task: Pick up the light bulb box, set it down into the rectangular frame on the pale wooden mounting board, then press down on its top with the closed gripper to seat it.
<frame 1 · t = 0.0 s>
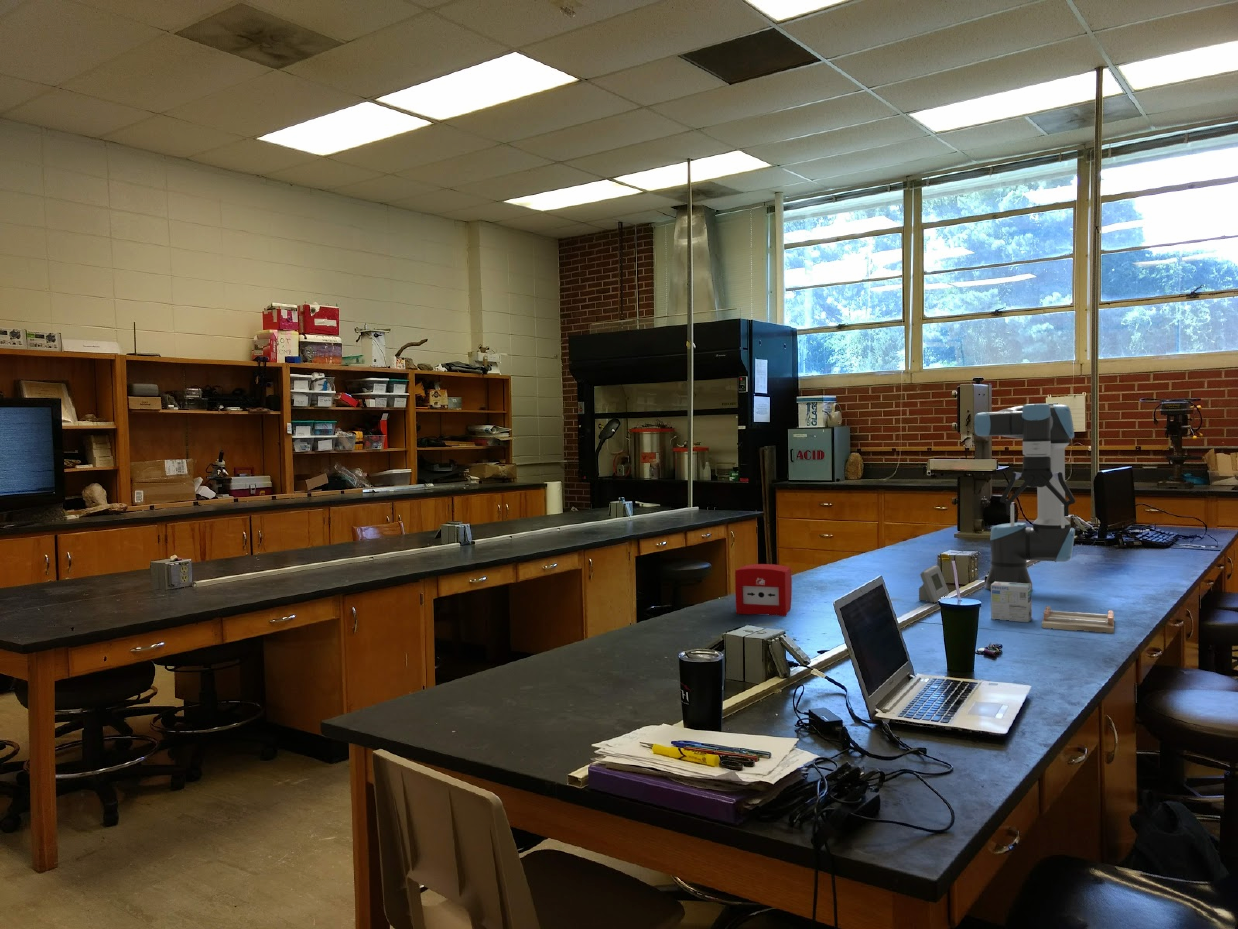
hand: (1037, 527, 262), 28 cm above the table, tool pointing down, fingers open, 13 cm apart
digital clock: (935, 600, 298), on the table
light bulb box: (1011, 619, 266), on the table
rectangular frame: (1078, 615, 257), on the mounting board, point 2 cm above the table
fire alarm: (764, 612, 286), on the table
mounting board: (1078, 624, 257), on the table
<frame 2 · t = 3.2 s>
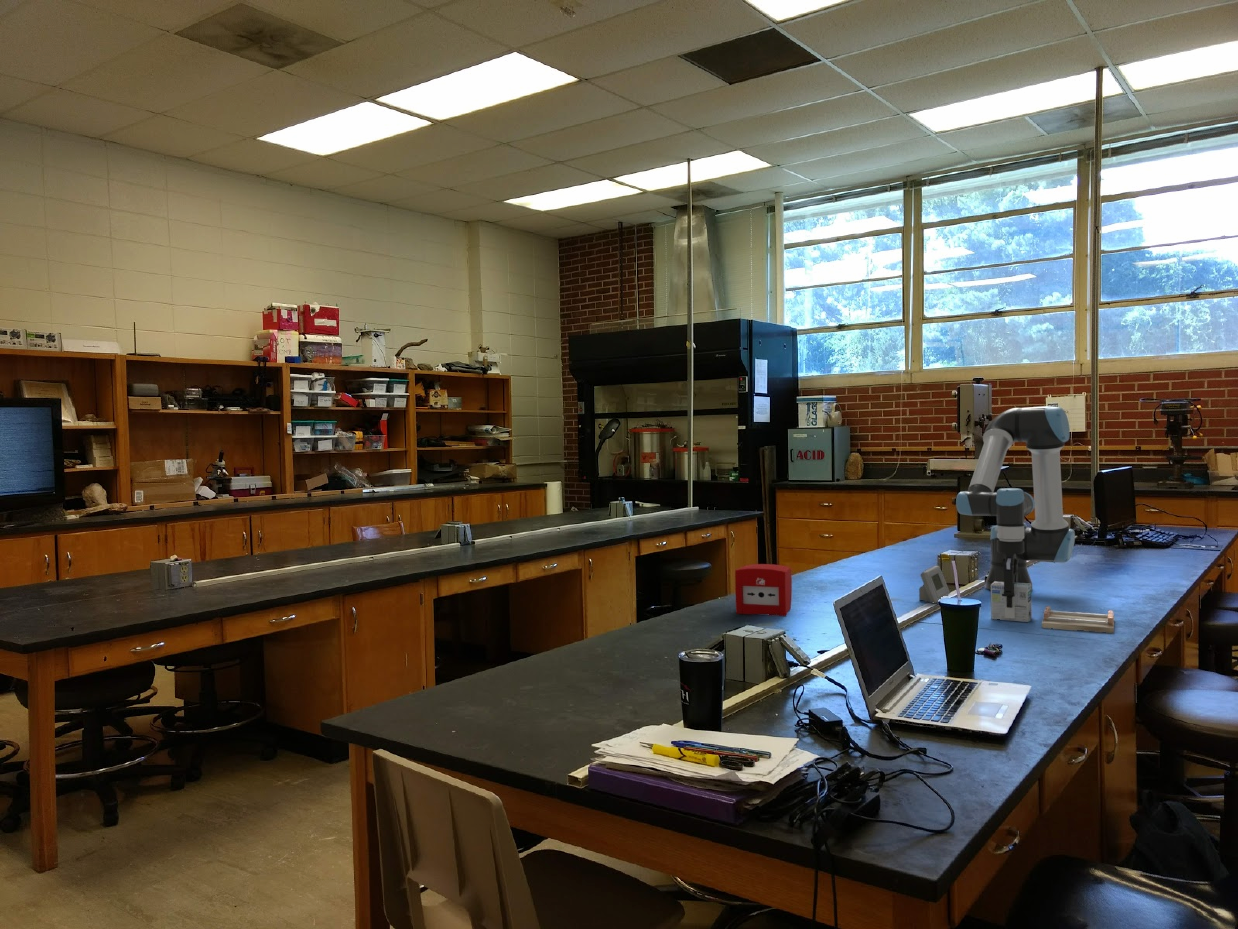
hand: (1011, 615, 266), 1 cm above the table, tool pointing down, fingers closed on light bulb box, 7 cm apart
light bulb box: (1011, 619, 266), on the table, touching gripper
everything else where it was.
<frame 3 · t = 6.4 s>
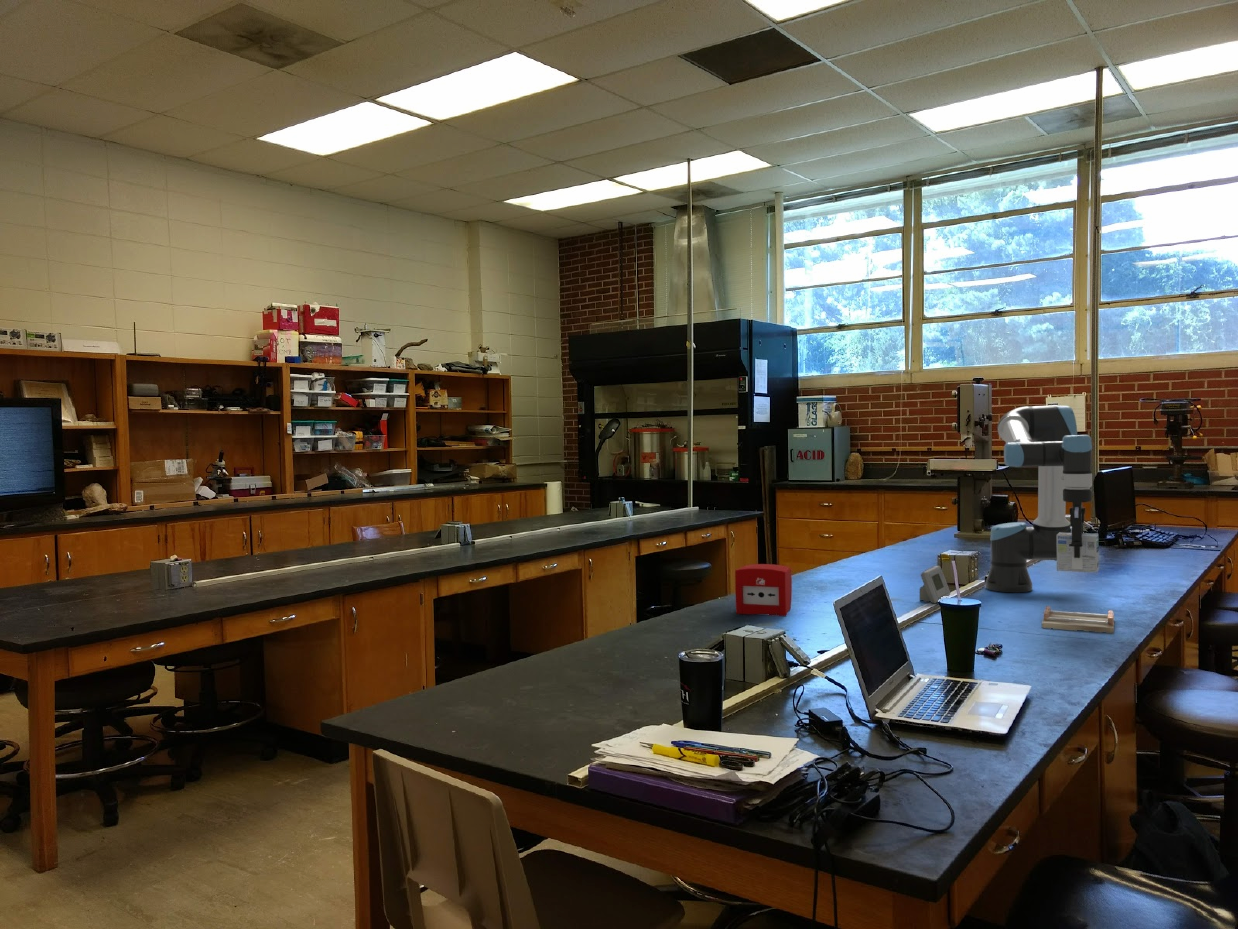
hand: (1077, 566, 256), 17 cm above the table, tool pointing down, fingers closed on light bulb box, 7 cm apart
light bulb box: (1077, 571, 256), point 16 cm above the table, touching gripper
everything else where it was.
when the fingers open (4 cm above the table, at t = 9.7 s): light bulb box drops 1 cm, resting on mounting board.
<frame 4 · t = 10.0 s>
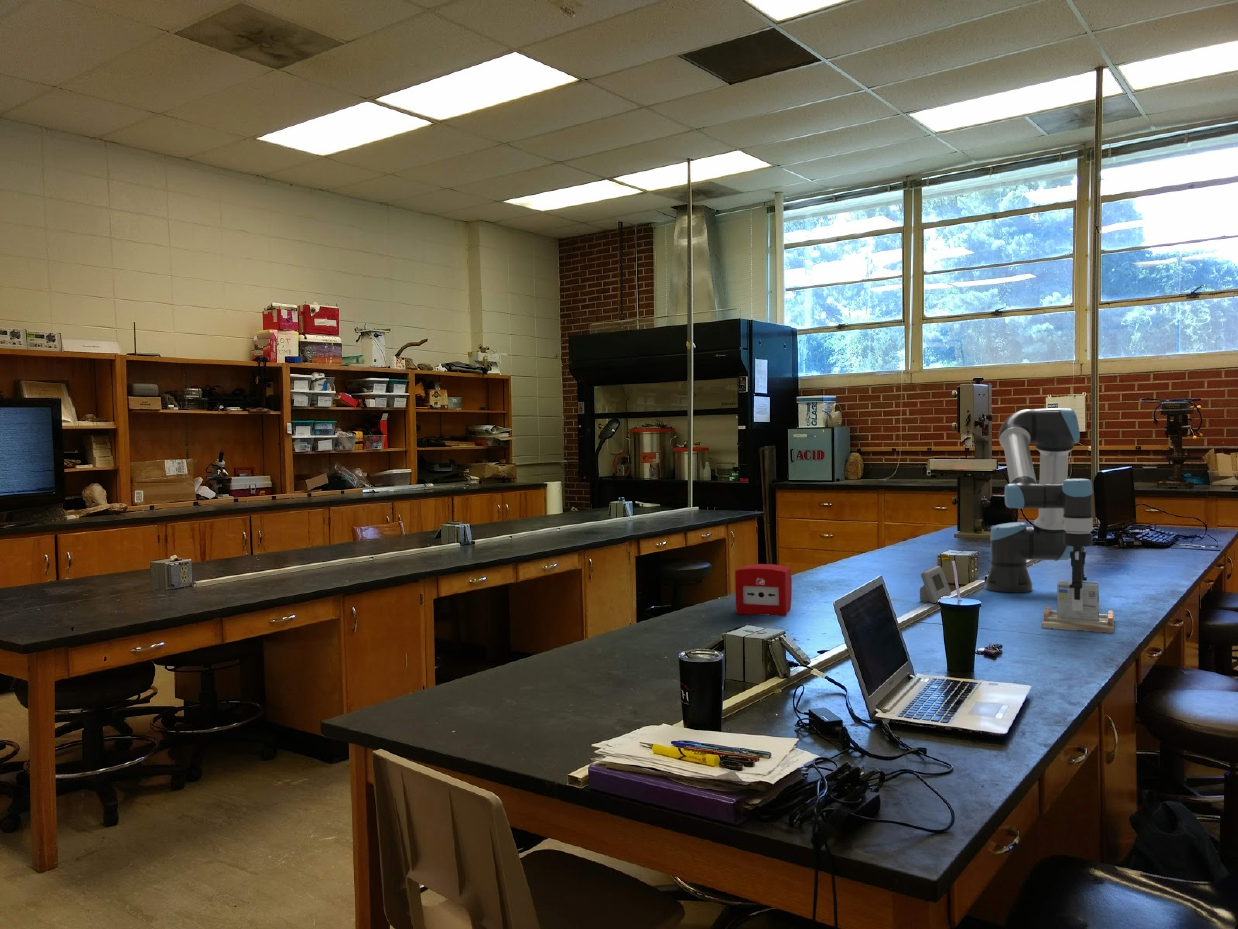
hand: (1078, 606, 256), 5 cm above the table, tool pointing down, fingers open, 11 cm apart
light bulb box: (1078, 619, 256), point 1 cm above the table, touching mounting board
everything else where it was.
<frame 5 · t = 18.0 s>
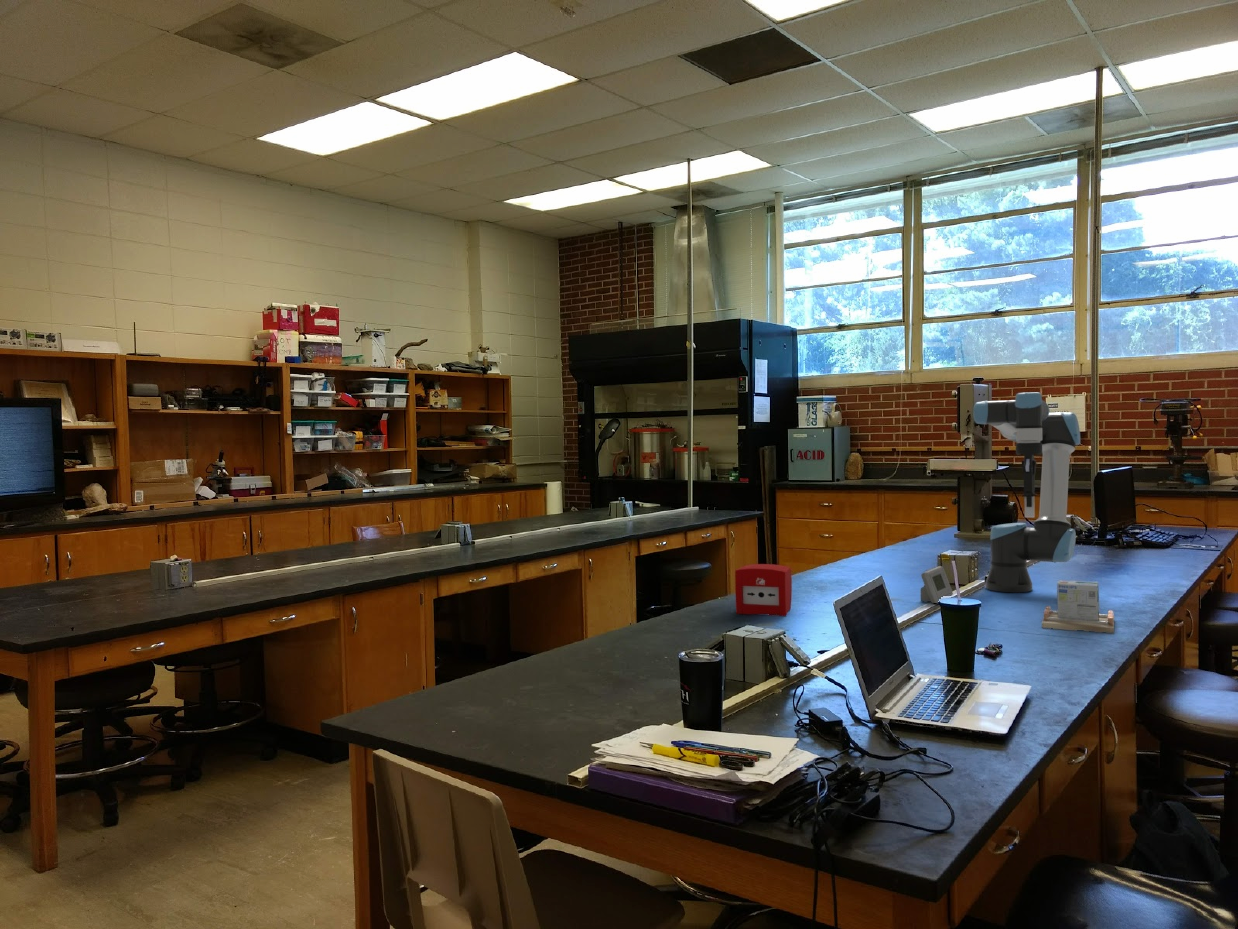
hand: (1029, 517, 275), 29 cm above the table, tool pointing down, fingers closed
at the end: light bulb box 0.3 cm off-centre on the rectangular frame, point 1.3 cm above the rectangular frame's base; light bulb box tilted 0°; the gripper is holding nothing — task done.
